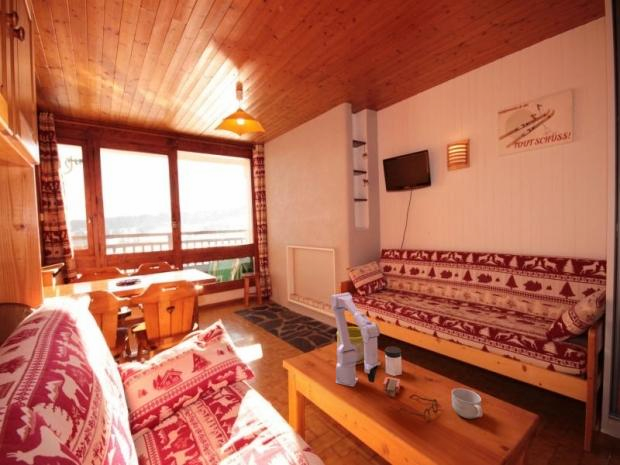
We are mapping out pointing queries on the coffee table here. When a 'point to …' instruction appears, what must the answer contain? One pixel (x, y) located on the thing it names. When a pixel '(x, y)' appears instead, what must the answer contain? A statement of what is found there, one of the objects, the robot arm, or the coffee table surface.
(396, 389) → the end cap
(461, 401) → the teacup
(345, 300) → the robot arm
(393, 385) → the beige rectangular block
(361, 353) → the flowerpot
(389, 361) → the jar
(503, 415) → the coffee table surface
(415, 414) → the glasses
